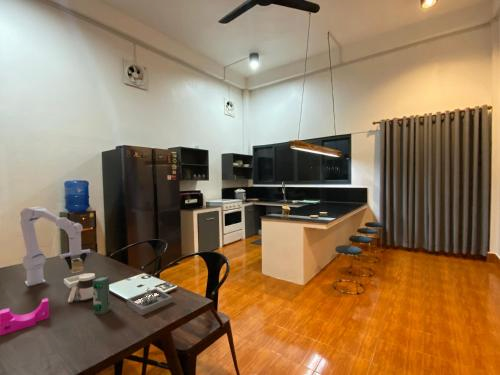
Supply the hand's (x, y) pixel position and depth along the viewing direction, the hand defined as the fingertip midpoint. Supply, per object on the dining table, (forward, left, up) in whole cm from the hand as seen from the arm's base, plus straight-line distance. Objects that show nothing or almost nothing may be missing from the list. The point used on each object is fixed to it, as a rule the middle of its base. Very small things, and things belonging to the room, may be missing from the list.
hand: (76, 267), depth 146 cm
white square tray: (+2, 0, -9) cm, 9 cm away
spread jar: (+27, -5, -9) cm, 29 cm away
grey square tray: (+58, +14, -9) cm, 60 cm away
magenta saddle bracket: (+33, -27, -9) cm, 44 cm away
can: (+47, -3, -9) cm, 48 cm away
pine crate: (0, 0, -2) cm, 2 cm away
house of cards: (+58, +13, -9) cm, 60 cm away
